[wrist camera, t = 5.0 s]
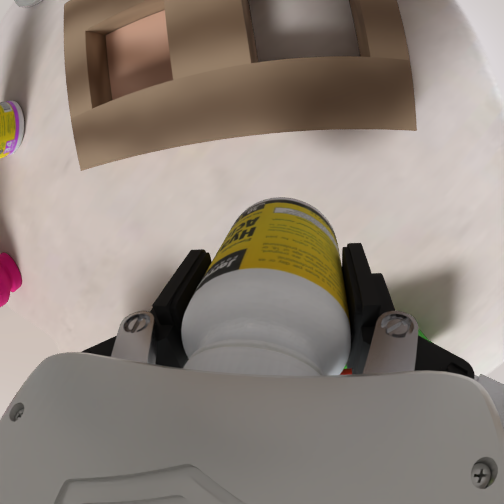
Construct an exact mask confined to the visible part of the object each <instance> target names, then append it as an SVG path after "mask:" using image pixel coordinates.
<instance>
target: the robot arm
mask: <svg viewBox="0 0 504 504" xmlns="http://www.w3.org/2000/svg"><path fill="white" fill-rule="evenodd" d="M41 1H42V0H15V3H16V4H17V5H18V6H20V7H31V6H34V5H36V4H38V3H39V2H41ZM211 263H212V262H211V257H210V254H209V253H206V251H205V250H191V251H190V252H189V254H188V255H187V257H186V258H185V259H184V261H183V262H182V264H181V265H180V266H179V268H178V269H177V271H176V272H175V273H174V275H173V276H172V278H171V279H170V281H169V282H168V283H167V285H166V286H165V288H164V289H163V291H162V292H161V294H160V295H159V297H158V298H157V299H156V301H155V302H154V304H153V305H152V306H153V308H152V310H151V311H150V312H147V311H139V312H135V313H133V314H130V315H129V316H127V317H126V318H125V319H124V320H123V321H122V322H121V324H120V327H119V330H118V334H117V336H115V337H113V338H111V339H108V340H106V341H104V342H102V343H100V344H97V345H95V346H93V347H91V348H89V349H86V350H84V351H82V352H67V353H60V354H56V355H52V356H50V357H48V358H46V359H45V360H43V361H42V362H41V363H40V364H39V365H38V366H37V367H36V369H35V370H34V371H33V372H32V373H31V375H30V376H29V377H28V379H27V380H26V381H25V382H24V384H23V385H22V387H21V388H20V390H19V391H18V392H17V394H16V395H15V397H14V398H13V400H12V402H11V403H10V405H9V406H8V408H7V410H6V411H5V413H4V415H3V416H2V418H1V420H0V504H504V384H501V383H499V382H497V381H495V380H493V379H491V378H489V377H486V376H484V375H482V374H480V376H479V377H478V376H476V375H474V371H473V368H472V367H471V365H470V364H469V363H468V362H466V361H465V360H464V359H462V358H460V357H458V356H456V355H454V354H452V353H451V352H449V351H447V350H445V349H443V348H441V347H439V346H437V345H436V344H434V343H432V342H430V341H428V340H426V339H424V338H422V337H421V336H419V335H418V323H417V321H416V320H415V318H413V317H412V316H411V315H409V314H407V313H405V312H402V311H395V309H394V306H393V303H392V300H391V297H390V294H389V291H388V289H387V286H386V283H385V280H384V278H383V275H382V274H381V273H375V274H372V273H371V270H370V267H369V264H368V261H367V258H366V256H365V253H364V250H363V247H362V244H361V243H349V244H347V247H343V251H342V271H343V278H344V284H345V291H346V297H347V304H348V311H349V319H350V328H351V349H350V354H349V358H348V361H347V363H346V366H347V369H350V368H352V375H326V376H282V375H254V374H237V373H224V372H212V371H202V370H193V369H184V366H185V364H186V363H187V361H188V360H189V358H188V356H187V355H186V352H185V350H184V347H183V342H182V335H181V328H182V321H183V317H184V313H185V311H186V309H187V307H188V304H189V302H190V300H191V298H192V296H193V294H194V292H195V291H196V289H197V287H198V285H199V284H200V282H201V280H202V279H203V277H204V275H205V274H206V272H207V270H208V268H209V266H210V265H211Z"/></svg>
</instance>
